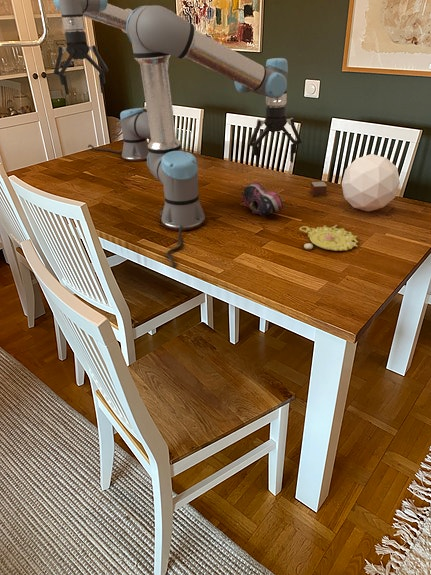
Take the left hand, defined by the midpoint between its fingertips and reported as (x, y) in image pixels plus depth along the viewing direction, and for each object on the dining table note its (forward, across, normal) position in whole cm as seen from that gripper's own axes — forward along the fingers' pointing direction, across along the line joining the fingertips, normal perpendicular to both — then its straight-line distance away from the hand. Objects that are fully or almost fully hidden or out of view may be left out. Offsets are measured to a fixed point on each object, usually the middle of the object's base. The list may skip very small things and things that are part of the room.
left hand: (85, 93), depth 174 cm
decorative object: (+36, +80, -69) cm, 111 cm away
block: (+36, +89, -30) cm, 100 cm away
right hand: (+25, +72, -22) cm, 79 cm away
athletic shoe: (+36, +62, -42) cm, 83 cm away
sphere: (+36, +101, -47) cm, 117 cm away
